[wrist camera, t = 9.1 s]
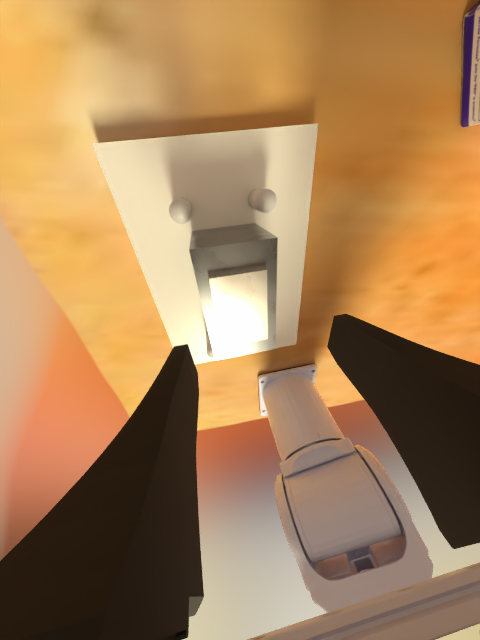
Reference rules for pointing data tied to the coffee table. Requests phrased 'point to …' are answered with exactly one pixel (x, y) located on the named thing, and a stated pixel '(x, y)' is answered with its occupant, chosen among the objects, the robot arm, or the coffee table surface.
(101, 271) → the coffee table surface
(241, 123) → the coffee table surface
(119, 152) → the white pegged panel
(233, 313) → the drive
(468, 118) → the supplement box
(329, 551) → the robot arm
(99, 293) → the coffee table surface
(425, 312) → the coffee table surface
